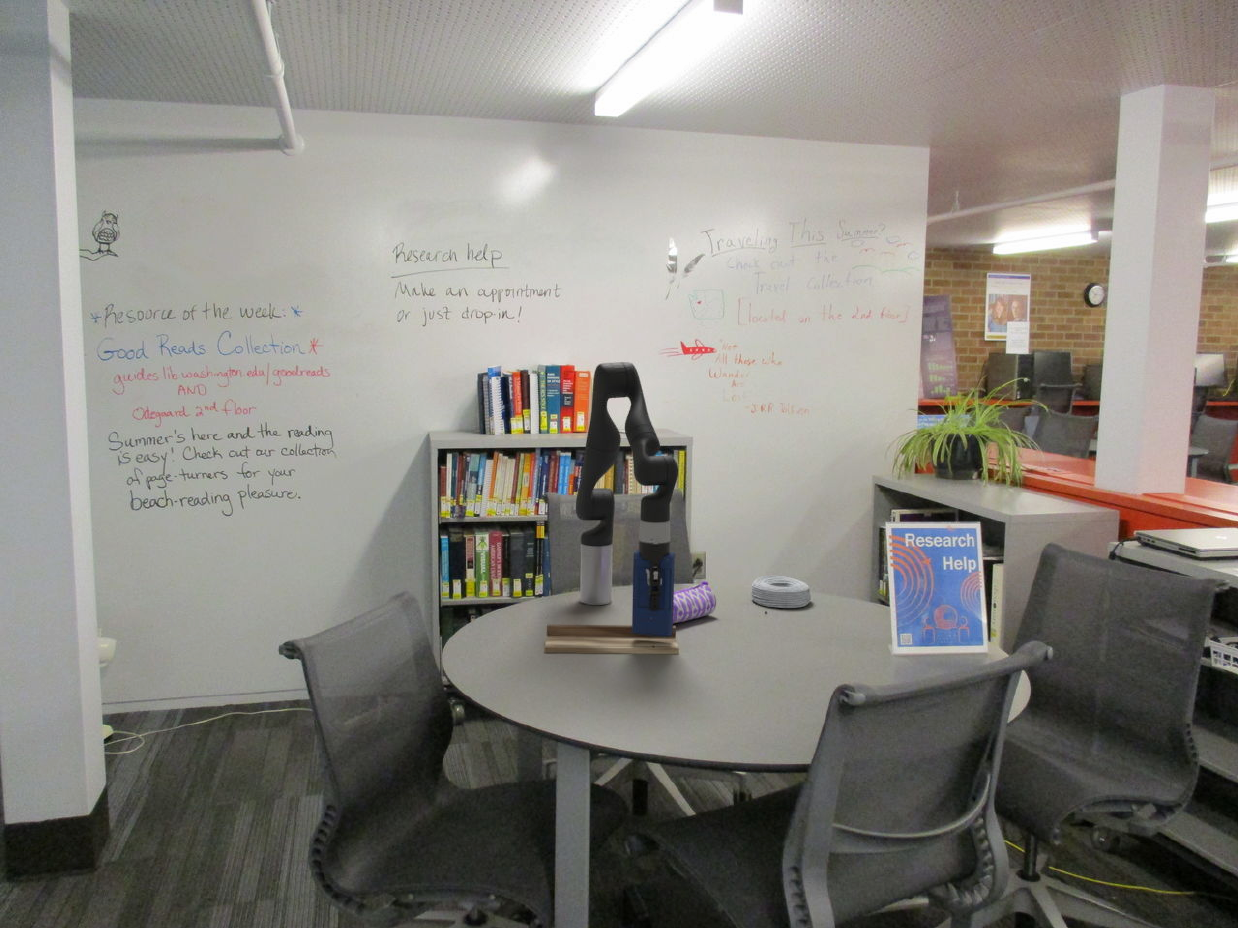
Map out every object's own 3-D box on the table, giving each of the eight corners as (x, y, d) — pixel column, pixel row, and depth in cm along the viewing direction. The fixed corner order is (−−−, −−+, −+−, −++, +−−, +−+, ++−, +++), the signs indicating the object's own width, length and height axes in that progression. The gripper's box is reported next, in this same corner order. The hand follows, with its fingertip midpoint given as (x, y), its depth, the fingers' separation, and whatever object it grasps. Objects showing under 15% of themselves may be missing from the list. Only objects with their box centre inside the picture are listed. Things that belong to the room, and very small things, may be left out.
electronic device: (673, 631, 214) (675, 552, 212) (669, 638, 209) (671, 556, 207) (636, 628, 217) (637, 549, 214) (631, 634, 212) (632, 553, 209)
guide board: (547, 640, 218) (547, 624, 218) (675, 641, 219) (675, 625, 218) (544, 653, 208) (544, 636, 208) (678, 654, 209) (679, 638, 208)
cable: (767, 591, 270) (768, 572, 270) (820, 600, 260) (821, 581, 259) (740, 602, 256) (740, 582, 256) (795, 613, 246) (796, 592, 245)
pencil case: (694, 609, 248) (695, 577, 247) (720, 616, 241) (721, 583, 240) (640, 625, 232) (641, 590, 231) (666, 633, 226) (667, 597, 225)
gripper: (637, 532, 217) (636, 598, 219) (640, 544, 203) (639, 615, 205) (667, 532, 217) (666, 598, 219) (672, 545, 203) (670, 615, 205)
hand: (653, 606), depth 212 cm, fingers open, 6 cm apart
